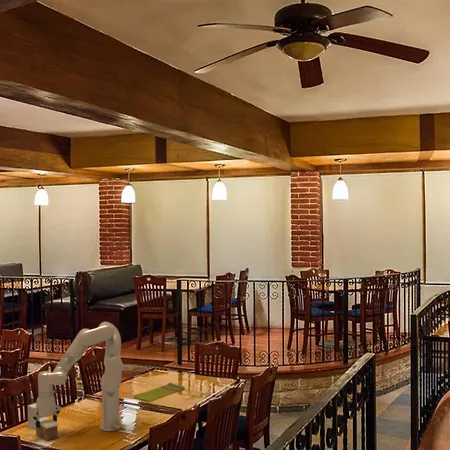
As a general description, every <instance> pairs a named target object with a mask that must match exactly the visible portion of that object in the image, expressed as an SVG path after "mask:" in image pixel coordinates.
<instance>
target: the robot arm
mask: <svg viewBox="0 0 450 450" xmlns="http://www.w3.org/2000/svg"><path fill="white" fill-rule="evenodd" d="M103 342H105V352H104V359H103V364H104V374H103V375H102V376H101V381H100V384H101V385H100V386H101V403H102V404H101V407H102V409H101V411H102V424H101V425H100V426H99V428H100V430H101V431H104V432H115V431H118V430H120V429H122V428H123V426H124V425H123V423H122V422H121V419H120V415H121V414H120V387H121V384H122V375H123V361H122V358H121V349H122V338H121V334H120V332H119V330H118V328H117V327H116V326H115V325H114V324H113V323H111V322H108V321H103V322H101V323H100V324H99V325H98V327H95V328H92V329H90V328H83V329H81V330H80V331H79V332H78V333H77V334H76V336H75V338H74V340H72V343H71V345H70V346H69V347H68V348H67V350H66V352H65V353H64V354H63V356H62V357H61V359H60V360H59V362H58V363H57V364H56V366H55V368H54V370H53V372H52V371H50V370H45V371H40V372H39V373H38V376H37V383H38V384H37V385H38V386H37V387H38V397H37V398H36V401H35V403H36V410H35V411H34V412H32V413H31V416H32V418H33V419H34V420H36V427H37V428H40V421H39V419H40V418H41V417H43V416H46V417H48V416H50V415H52V420H54V421H56V422H58V415H59V413H60V412H61V409H62V406H60V405H58V404H56V398H55V395H54V394H55V393H56V391H55V389H54V387H53V386H61V385H64V384H65V383H67V379H68V376H67V375H68V373H69V372H70V370H71V368H72V367H73V365H75V363H77V362H78V361H79V360H80V359H81V358H82V357H83V355H84V353H85V351H86V350H87V348H88V347H90V346H94V345H96V344H100V343H103ZM35 414H36V415H37V416H36V417H35V416H34V415H35Z"/></svg>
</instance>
